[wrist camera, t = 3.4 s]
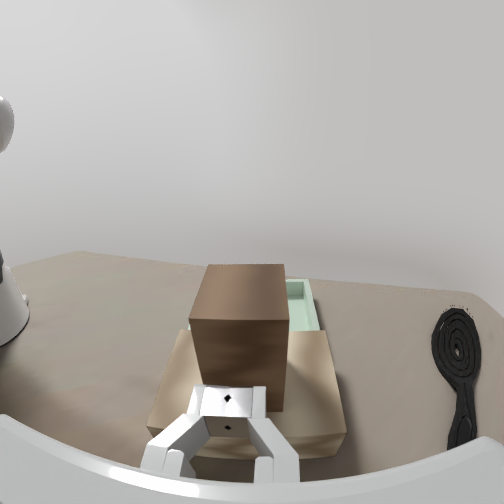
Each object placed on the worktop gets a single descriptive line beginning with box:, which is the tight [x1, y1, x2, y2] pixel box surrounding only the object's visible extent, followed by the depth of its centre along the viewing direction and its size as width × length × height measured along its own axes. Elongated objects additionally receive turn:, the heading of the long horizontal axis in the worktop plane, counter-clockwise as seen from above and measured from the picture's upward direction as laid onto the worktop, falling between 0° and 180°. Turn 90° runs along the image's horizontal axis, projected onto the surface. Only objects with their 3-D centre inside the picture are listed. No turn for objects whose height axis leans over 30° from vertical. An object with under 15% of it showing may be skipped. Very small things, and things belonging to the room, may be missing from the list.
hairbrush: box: [431, 305, 481, 451], centre depth 24 cm, size 8×4×25 cm
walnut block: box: [188, 264, 290, 412], centre depth 22 cm, size 6×7×10 cm
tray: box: [188, 279, 320, 331], centre depth 39 cm, size 16×13×3 cm
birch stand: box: [146, 329, 347, 460], centre depth 25 cm, size 16×13×5 cm
